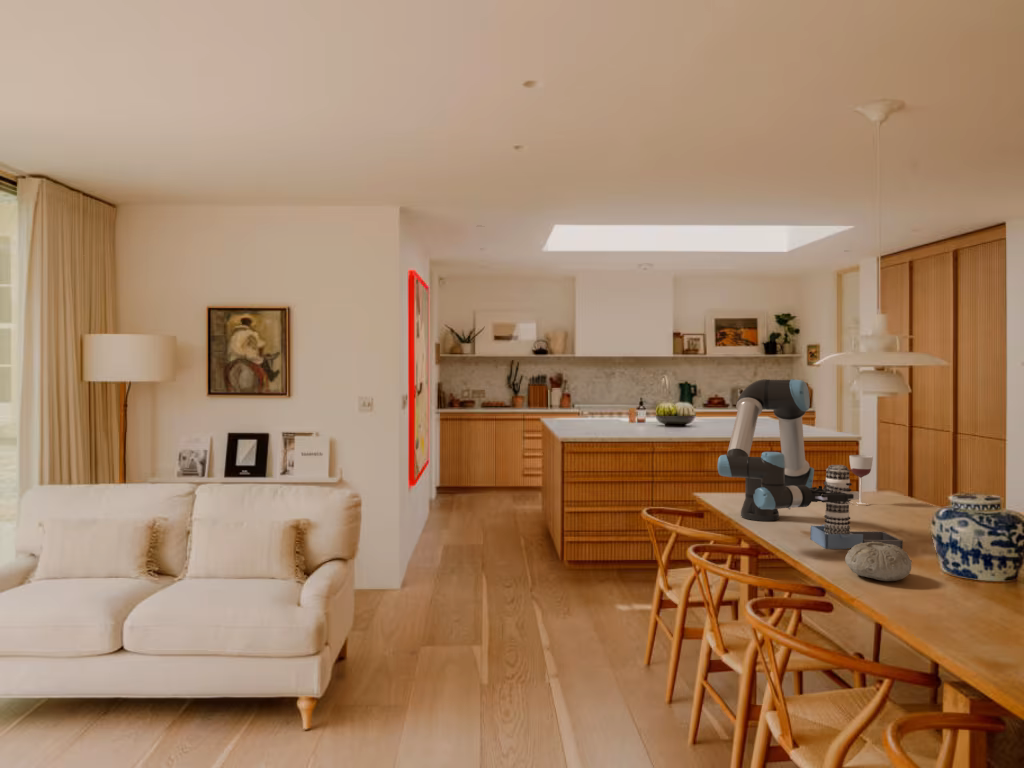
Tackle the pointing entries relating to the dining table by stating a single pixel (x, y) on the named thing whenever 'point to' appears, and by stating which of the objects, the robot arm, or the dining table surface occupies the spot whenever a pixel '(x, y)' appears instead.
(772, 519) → the robot arm
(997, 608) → the dining table surface
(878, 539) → the charcoal holder
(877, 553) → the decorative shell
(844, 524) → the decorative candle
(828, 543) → the blue tray
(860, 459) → the wineglass
